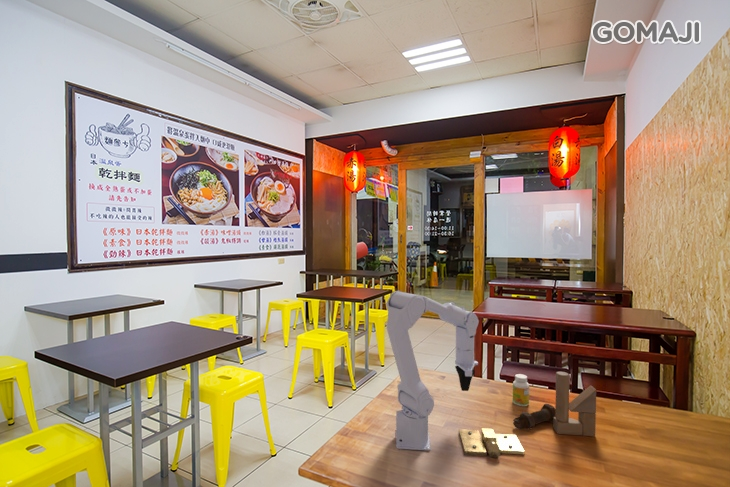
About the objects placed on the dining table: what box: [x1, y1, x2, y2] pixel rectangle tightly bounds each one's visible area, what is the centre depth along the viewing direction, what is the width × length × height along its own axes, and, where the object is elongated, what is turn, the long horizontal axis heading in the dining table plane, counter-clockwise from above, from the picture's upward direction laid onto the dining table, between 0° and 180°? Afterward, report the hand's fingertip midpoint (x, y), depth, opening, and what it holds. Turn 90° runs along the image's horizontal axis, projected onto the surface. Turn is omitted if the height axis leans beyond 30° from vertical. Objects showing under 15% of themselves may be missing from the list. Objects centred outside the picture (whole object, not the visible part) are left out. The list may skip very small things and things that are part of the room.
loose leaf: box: [481, 427, 526, 455], centre depth 104 cm, size 10×8×3 cm
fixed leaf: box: [458, 428, 502, 459], centre depth 104 cm, size 9×12×3 cm
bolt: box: [512, 403, 556, 430], centre depth 115 cm, size 6×5×15 cm
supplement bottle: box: [512, 373, 530, 407], centre depth 129 cm, size 5×5×10 cm
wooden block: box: [552, 371, 597, 437], centre depth 110 cm, size 4×11×18 cm, turn 82°
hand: (464, 389), depth 117 cm, fingers closed
